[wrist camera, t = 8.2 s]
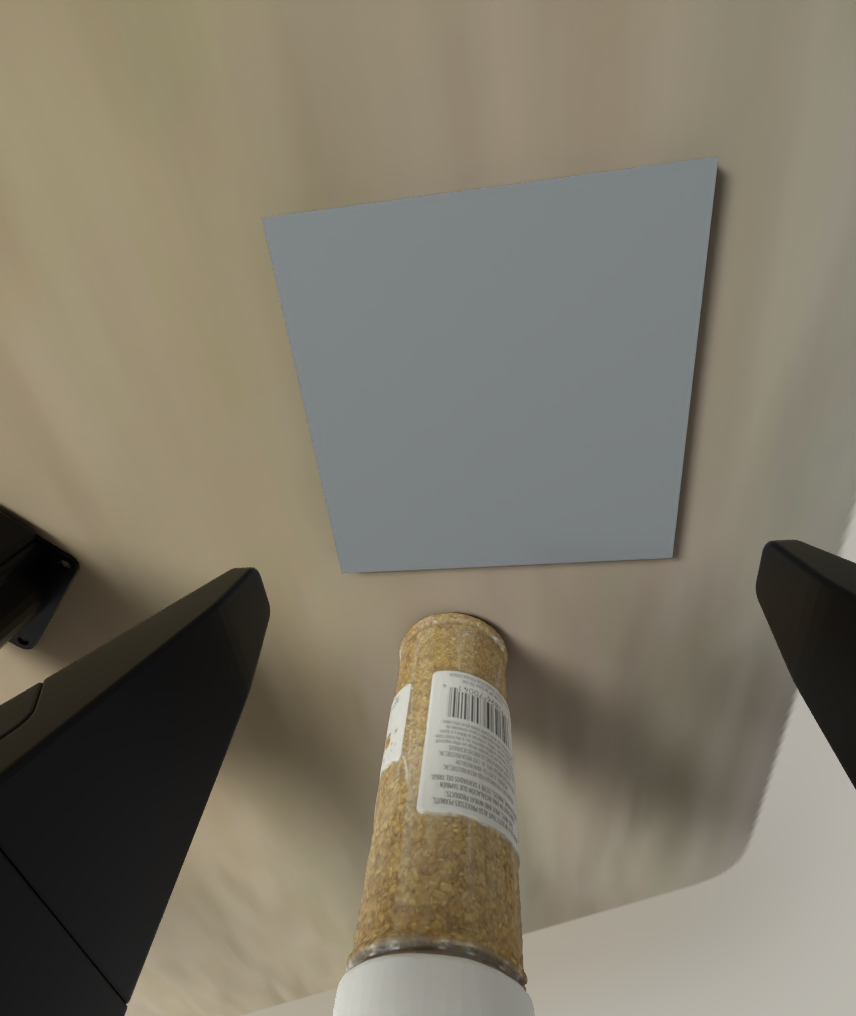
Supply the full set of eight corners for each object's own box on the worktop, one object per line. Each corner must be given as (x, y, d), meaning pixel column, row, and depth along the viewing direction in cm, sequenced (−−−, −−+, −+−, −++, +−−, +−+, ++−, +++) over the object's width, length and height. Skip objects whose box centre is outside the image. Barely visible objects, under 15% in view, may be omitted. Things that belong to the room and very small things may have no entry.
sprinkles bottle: (379, 640, 23) (271, 1092, 11) (464, 589, 21) (444, 1054, 9) (447, 704, 24) (415, 1163, 13) (531, 660, 23) (586, 1141, 11)
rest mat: (667, 548, 20) (672, 557, 19) (345, 564, 21) (341, 573, 21) (709, 158, 14) (718, 156, 14) (269, 217, 16) (261, 217, 15)
